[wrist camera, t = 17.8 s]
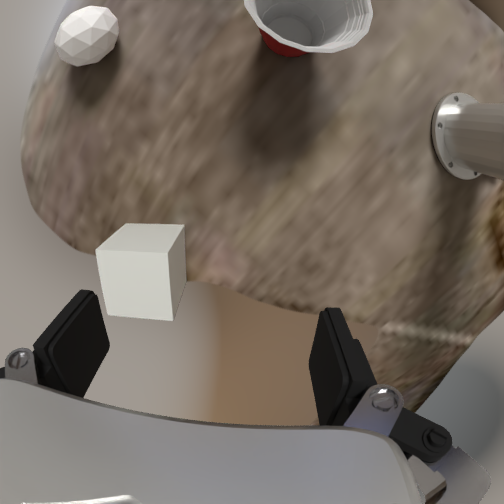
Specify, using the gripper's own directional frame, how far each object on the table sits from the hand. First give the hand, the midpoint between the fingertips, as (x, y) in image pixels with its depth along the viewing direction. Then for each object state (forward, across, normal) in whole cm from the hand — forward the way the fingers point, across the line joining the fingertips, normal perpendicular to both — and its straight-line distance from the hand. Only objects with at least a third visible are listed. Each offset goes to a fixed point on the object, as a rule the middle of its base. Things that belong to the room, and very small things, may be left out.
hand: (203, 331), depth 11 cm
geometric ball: (+24, +18, -20) cm, 36 cm away
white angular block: (+24, +10, +7) cm, 27 cm away
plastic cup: (+25, -5, -20) cm, 32 cm away
